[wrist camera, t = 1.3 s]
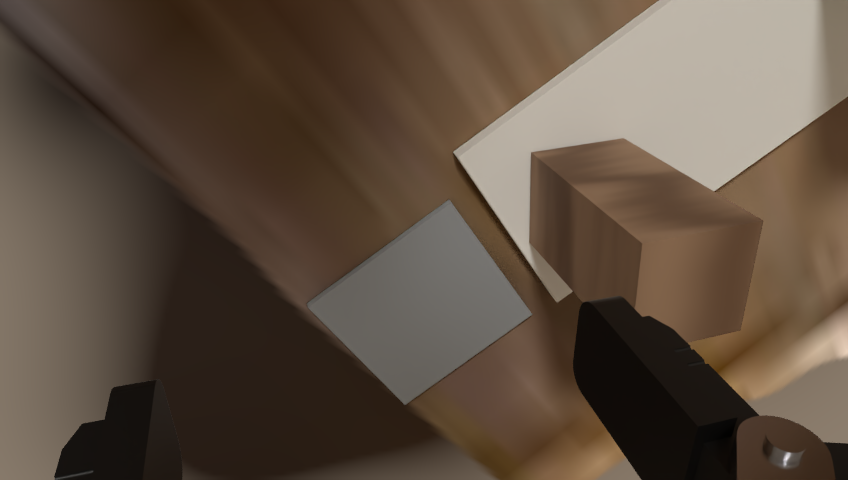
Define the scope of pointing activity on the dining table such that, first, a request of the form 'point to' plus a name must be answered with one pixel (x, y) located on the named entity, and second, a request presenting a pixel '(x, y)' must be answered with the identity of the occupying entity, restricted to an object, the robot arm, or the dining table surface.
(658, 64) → the board
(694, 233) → the walnut block
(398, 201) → the dining table surface
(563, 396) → the dining table surface
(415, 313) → the grey mat
